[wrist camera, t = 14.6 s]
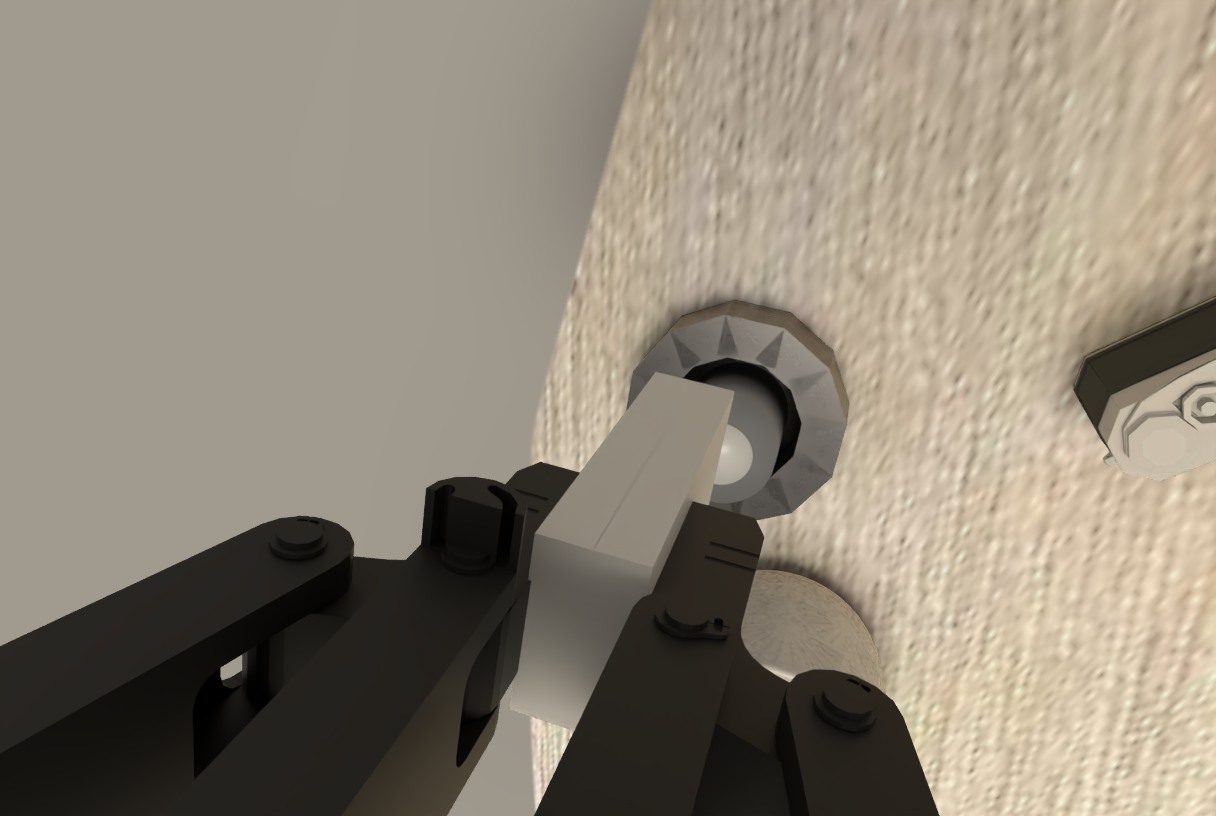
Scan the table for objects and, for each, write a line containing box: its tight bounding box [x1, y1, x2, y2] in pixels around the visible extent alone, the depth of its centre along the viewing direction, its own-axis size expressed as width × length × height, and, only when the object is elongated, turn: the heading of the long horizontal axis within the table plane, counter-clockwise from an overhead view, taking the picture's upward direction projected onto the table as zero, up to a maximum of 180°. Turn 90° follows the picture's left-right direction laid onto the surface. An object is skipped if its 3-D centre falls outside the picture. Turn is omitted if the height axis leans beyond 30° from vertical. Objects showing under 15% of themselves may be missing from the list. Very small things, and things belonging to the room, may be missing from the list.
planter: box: [741, 570, 886, 694], centre depth 47 cm, size 12×12×11 cm
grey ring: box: [626, 300, 849, 520], centre depth 47 cm, size 10×10×3 cm
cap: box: [698, 362, 788, 503], centre depth 45 cm, size 5×5×6 cm
